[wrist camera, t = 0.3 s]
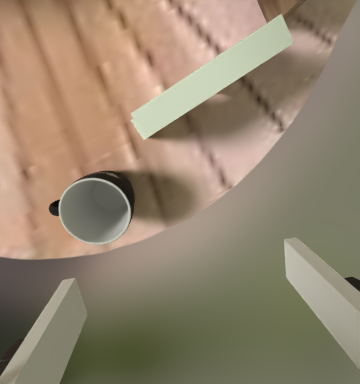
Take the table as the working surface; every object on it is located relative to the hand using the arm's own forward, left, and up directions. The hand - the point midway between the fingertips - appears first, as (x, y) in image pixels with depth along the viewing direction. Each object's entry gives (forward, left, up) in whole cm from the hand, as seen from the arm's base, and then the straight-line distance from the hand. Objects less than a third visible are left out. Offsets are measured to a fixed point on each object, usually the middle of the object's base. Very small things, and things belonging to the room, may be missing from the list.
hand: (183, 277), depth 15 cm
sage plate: (-10, +11, -26) cm, 30 cm away
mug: (-5, -10, -26) cm, 29 cm away
